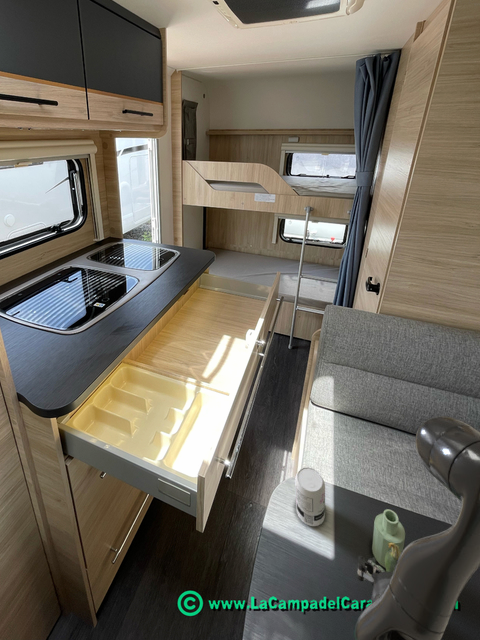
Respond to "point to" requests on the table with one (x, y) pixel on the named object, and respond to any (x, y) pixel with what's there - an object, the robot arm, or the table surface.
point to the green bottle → (387, 535)
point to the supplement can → (310, 496)
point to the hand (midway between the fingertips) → (395, 574)
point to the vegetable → (392, 557)
